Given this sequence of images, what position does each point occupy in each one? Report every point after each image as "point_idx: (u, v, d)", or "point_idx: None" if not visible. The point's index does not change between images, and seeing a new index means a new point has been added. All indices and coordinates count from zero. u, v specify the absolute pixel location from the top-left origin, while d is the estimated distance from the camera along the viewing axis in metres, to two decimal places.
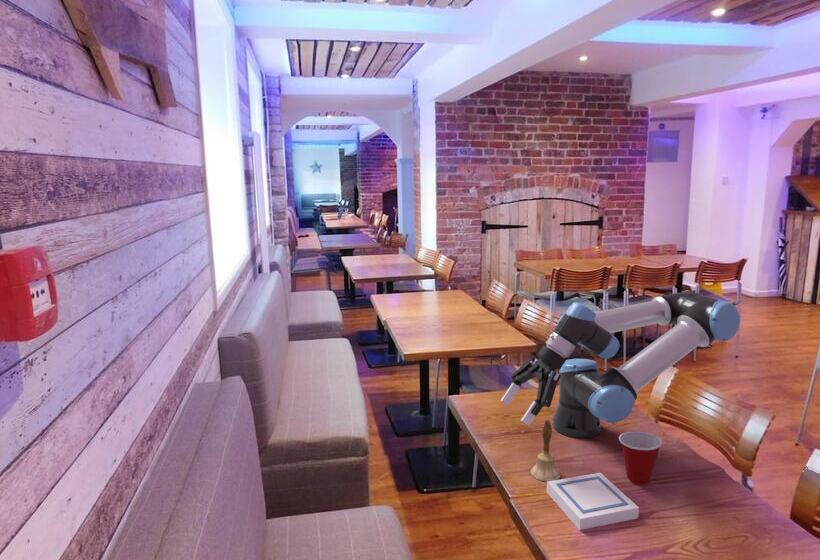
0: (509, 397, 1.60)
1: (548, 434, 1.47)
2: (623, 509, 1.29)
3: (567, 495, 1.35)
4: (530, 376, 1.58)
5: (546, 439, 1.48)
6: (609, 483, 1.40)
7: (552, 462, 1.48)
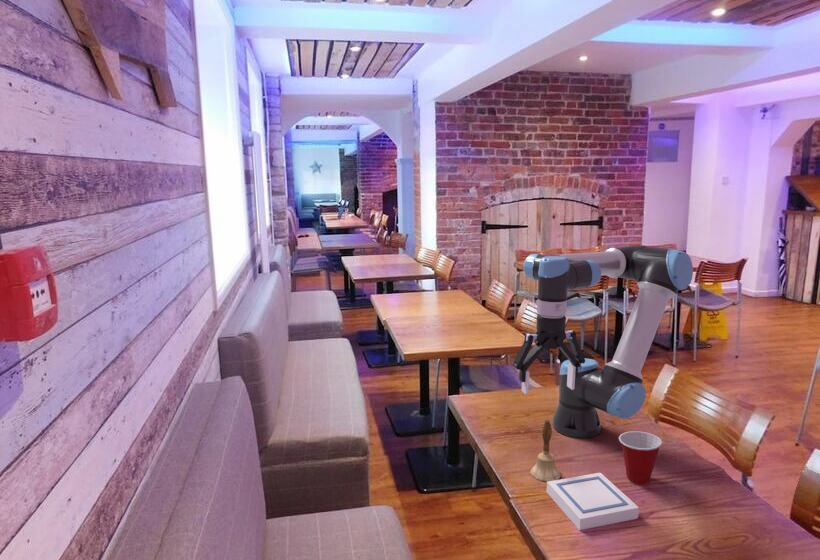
0: None
1: (548, 433, 1.47)
2: (623, 509, 1.29)
3: (567, 495, 1.35)
4: None
5: (546, 439, 1.48)
6: (609, 483, 1.40)
7: (552, 462, 1.48)
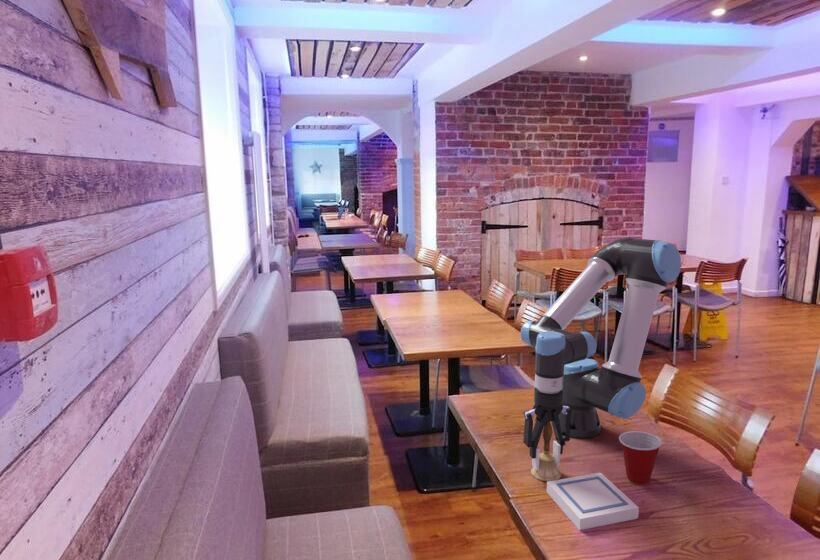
0: None
1: (549, 433, 1.47)
2: (623, 509, 1.29)
3: (567, 495, 1.35)
4: None
5: (546, 439, 1.48)
6: (609, 483, 1.40)
7: (552, 462, 1.48)
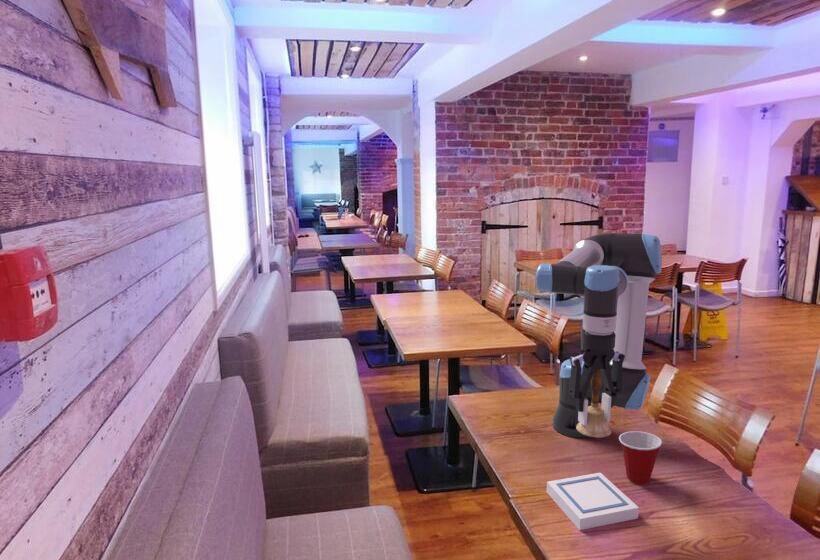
0: None
1: (598, 383, 1.29)
2: (623, 509, 1.29)
3: (567, 495, 1.35)
4: None
5: (595, 389, 1.29)
6: (609, 483, 1.40)
7: (602, 416, 1.30)
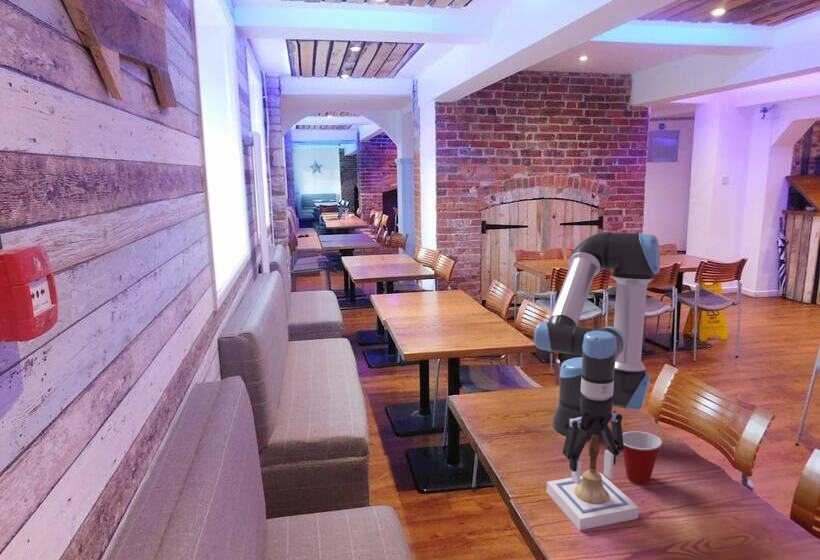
0: None
1: (596, 450, 1.32)
2: (623, 509, 1.29)
3: (567, 495, 1.35)
4: None
5: (593, 456, 1.33)
6: (609, 483, 1.40)
7: (600, 481, 1.33)
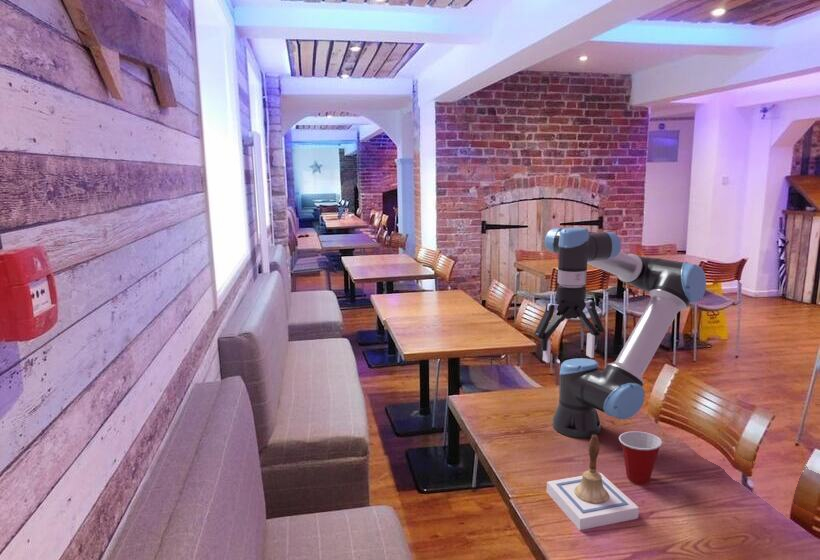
0: None
1: (596, 450, 1.32)
2: (623, 509, 1.29)
3: (567, 495, 1.35)
4: None
5: (593, 456, 1.33)
6: (609, 483, 1.40)
7: (600, 481, 1.33)
